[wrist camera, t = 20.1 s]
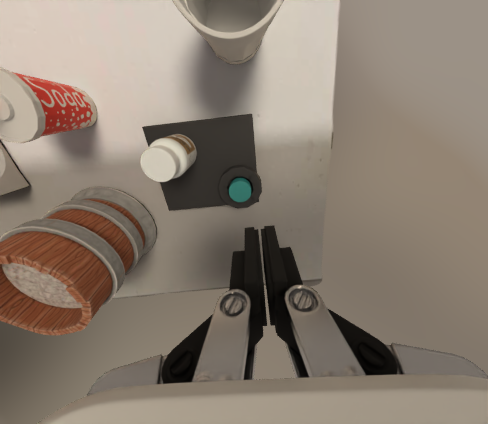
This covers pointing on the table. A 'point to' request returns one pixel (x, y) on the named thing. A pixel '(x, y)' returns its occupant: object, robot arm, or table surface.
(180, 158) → the pill bottle
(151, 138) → the scale
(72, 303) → the mug
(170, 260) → the table surface
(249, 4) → the cup
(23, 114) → the beverage cup
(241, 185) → the button
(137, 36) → the table surface
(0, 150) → the grey desk tray
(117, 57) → the table surface
